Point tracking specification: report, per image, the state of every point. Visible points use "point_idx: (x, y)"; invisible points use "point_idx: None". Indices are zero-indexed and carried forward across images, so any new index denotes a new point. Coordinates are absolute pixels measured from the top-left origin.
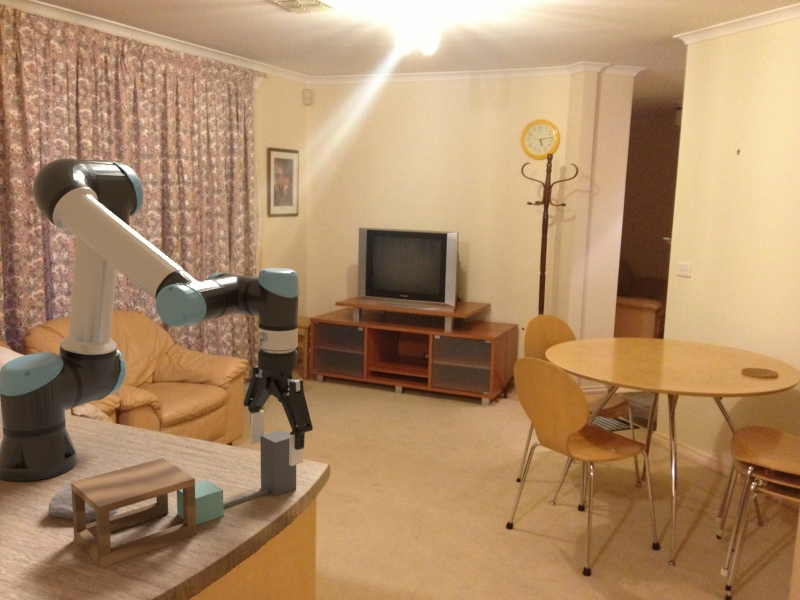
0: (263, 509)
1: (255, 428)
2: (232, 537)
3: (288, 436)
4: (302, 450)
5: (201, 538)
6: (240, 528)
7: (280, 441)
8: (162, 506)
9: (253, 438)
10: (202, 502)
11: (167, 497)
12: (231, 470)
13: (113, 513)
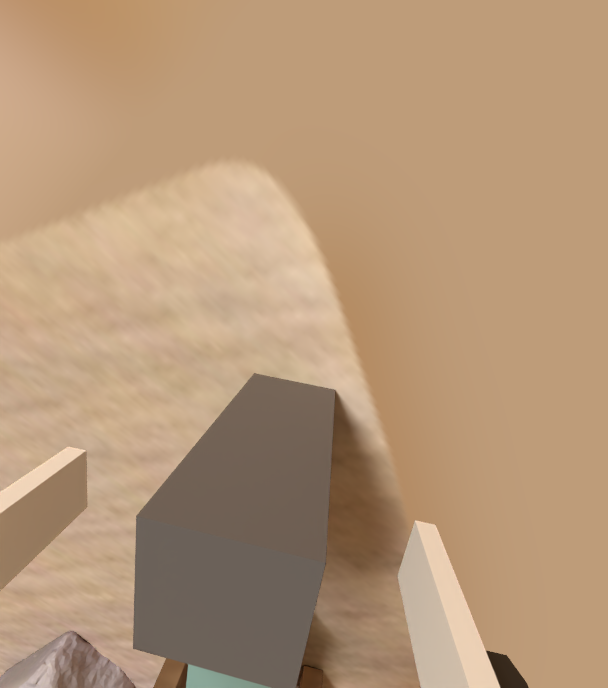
0: (353, 530)
1: (2, 568)
2: (398, 650)
3: (280, 586)
4: (462, 600)
5: (344, 675)
6: (381, 618)
7: (301, 656)
8: (185, 670)
9: (61, 526)
10: None
11: (175, 686)
12: (82, 406)
13: (125, 681)
